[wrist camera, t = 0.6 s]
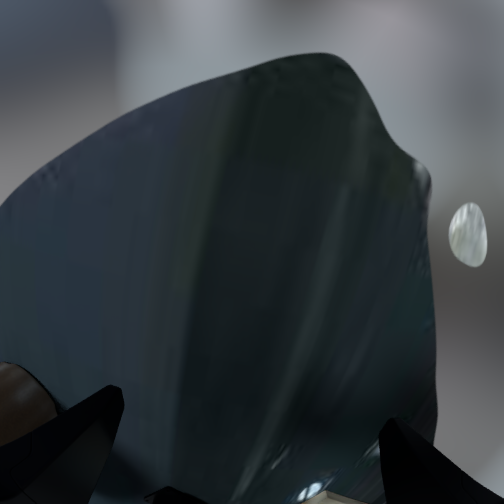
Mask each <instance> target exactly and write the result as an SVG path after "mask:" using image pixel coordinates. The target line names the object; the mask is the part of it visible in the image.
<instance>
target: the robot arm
mask: <svg viewBox="0 0 504 504" xmlns="http://www.w3.org/2000/svg"><path fill="white" fill-rule="evenodd" d="M123 411H124V399H123V394H122V390H121V388H119V387H117V386H113V385H107V386H106V387H104V388H102V389H101V390H99V391H98V392H96V393H94V394H93V395H91V396H90V397H88V398H86V399H85V400H83V401H81V402H80V403H78V404H76V405H75V406H73V407H71V408H70V409H68V410H66V411H65V412H63V413H61V414H60V415H58V416H56V417H55V418H53V419H51V420H50V421H48V422H46V423H44V424H43V425H41V426H39V427H38V428H36V429H34V430H32V432H29V433H27V434H25V435H23V436H21V437H20V438H18V439H16V440H14V441H12V442H9V443H7V444H5V445H2V446H0V504H88V502H89V500H90V498H91V495H92V493H93V490H94V488H95V486H96V483H97V481H98V478H99V476H100V474H101V471H102V469H103V467H104V464H105V462H106V460H107V458H108V455H109V453H110V451H111V448H112V446H113V443H114V440H115V437H116V433H117V430H118V427H119V423H120V420H121V417H122V414H123ZM379 448H380V461H381V472H382V478H383V484H384V490H385V496H386V502H387V504H504V498H502V497H500V496H499V495H497V494H495V493H494V492H492V491H490V490H489V489H487V488H486V487H484V486H483V485H481V484H480V483H478V482H476V481H475V480H474V479H473V478H471V477H470V476H469V475H468V474H466V473H465V472H464V471H462V470H461V469H460V468H459V467H458V466H456V465H455V464H454V463H453V462H452V461H451V460H449V459H448V458H447V457H446V456H445V455H443V454H442V453H441V452H440V451H438V450H437V449H436V448H435V447H434V446H433V445H432V444H430V443H429V442H428V441H427V440H426V439H425V438H423V437H422V436H421V435H420V434H419V433H418V432H416V431H415V430H414V429H413V428H412V427H411V426H409V425H408V424H407V423H406V422H405V421H404V420H403V419H401V418H390V419H389V420H388V421H387V422H386V424H385V425H384V427H383V428H382V429H381V431H380V433H379ZM144 501H146V502H148V503H150V504H203V503H201V502H199V501H197V500H195V499H192V498H190V497H188V496H186V495H184V494H182V493H180V492H178V491H176V490H174V489H172V488H170V487H164V488H162V489H160V490H158V491H156V492H154V493H152V494H150V495H148V496H146V497H144Z"/></svg>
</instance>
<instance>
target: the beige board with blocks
mask: <svg viewBox="0 0 504 504" xmlns="http://www.w3.org/2000/svg"><path fill="white" fill-rule="evenodd" d="M301 504H368V503H364V502H361V501H357V500H354V499H350V498H347V497H344V496H341V495H338V494H335V493H332V492H329V491H326V490H325V491H323V492H321V493H320V494H318V495H316V496H314V497H313V498H311V499H309V500H307V501H305V502H303V503H301Z"/></svg>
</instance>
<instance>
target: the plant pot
mask: <svg viewBox="0 0 504 504" xmlns="http://www.w3.org/2000/svg"><path fill="white" fill-rule="evenodd" d="M56 416H58V414H57V412H56V409H55V404H54V402H53V401H52V399H51V398H50V396H49V395H48V394H47V392H46V391H45V390H44V389H43V387H42V386H41V385H40V384H39V383H38V382H37V381H36V380H35V379H34V378H33V377H32V376H31V375H30V374H29V373H27V372H26V371H25V370H24V369H22V368H21V367H19V366H18V365H16V364H8V363H6V362H1V363H0V446H2V445H5V444H7V443H9V442H12V441H14V440H16V439H18V438H20V437H21V436H23V435H25V434H27V433H29V432H32V430H34V429H36V428H38V427H39V426H41V425H43V424H44V423H46V422H48V421H50V420H51V419H53V418H55V417H56Z"/></svg>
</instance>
